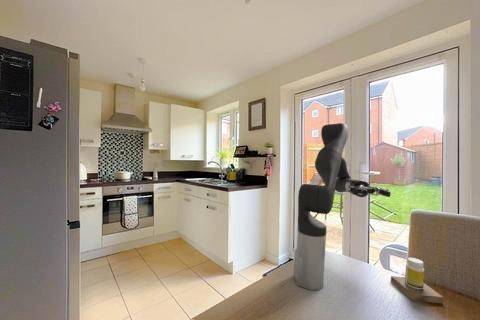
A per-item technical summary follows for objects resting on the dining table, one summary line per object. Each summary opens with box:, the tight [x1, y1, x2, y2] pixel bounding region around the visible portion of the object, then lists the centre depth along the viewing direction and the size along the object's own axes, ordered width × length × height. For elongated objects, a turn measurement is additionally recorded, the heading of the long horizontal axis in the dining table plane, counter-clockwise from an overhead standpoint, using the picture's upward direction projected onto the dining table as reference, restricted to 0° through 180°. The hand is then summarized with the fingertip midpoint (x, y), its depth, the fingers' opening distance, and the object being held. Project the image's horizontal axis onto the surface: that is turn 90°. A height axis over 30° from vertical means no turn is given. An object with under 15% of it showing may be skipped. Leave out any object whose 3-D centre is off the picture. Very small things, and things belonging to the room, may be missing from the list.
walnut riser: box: [390, 275, 444, 304], centre depth 70 cm, size 9×10×2 cm
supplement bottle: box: [404, 257, 425, 289], centre depth 70 cm, size 5×5×8 cm
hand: (377, 193), depth 82 cm, fingers open, 8 cm apart
